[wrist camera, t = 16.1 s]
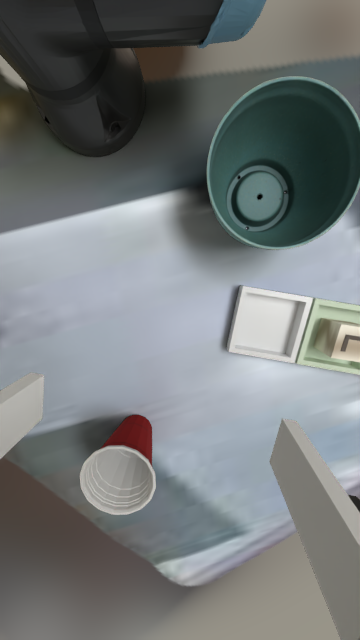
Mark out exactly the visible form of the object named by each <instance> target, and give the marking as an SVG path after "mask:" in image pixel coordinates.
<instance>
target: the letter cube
mask: <svg viewBox="0 0 360 640" xmlns="http://www.w3.org/2000/svg"><path fill="white" fill-rule="evenodd" d="M313 347H314V348H316V349H318V350H319V351H321V352H323V353H324V354H326V355H327V356H329V357H331V358H336V359H342V360H348V361H355V362H360V324H356V323H353V322H347V321H340V320H334V319H328V318H321V321H320V325H319V328H318V332H317V335H316V339H315V343H314V346H313Z"/></svg>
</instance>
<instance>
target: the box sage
mask: <svg viewBox="0 0 360 640" xmlns="http://www.w3.org/2000/svg"><path fill="white" fill-rule="evenodd" d="M311 298H312V297H311ZM321 318H328V319H334V320H340V321H347V322H353V323H356V324H360V305H354V304H348V303H342V302H336V301H330V300H324V299H318V298H313V300H312V304H311V307H310V311H309V314H308V318H307V321H306V325H305V328H304V332H303V335H302V339H301V342H300V346H299V349H298V352H297V356H296V359H295V363H297V364H301V365H307V366H312V367H318V368H324V369H329V370H335V371H341V372H346V373H352V374H358V375H360V362H355V361H348V360H342V359H336V358H331V357H329V356H327V355H326V354H324V353H323V352H321V351H319V350H318V349H316V348H314V347H313V346H314V343H315V339H316V335H317V332H318V328H319V325H320V321H321Z"/></svg>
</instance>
